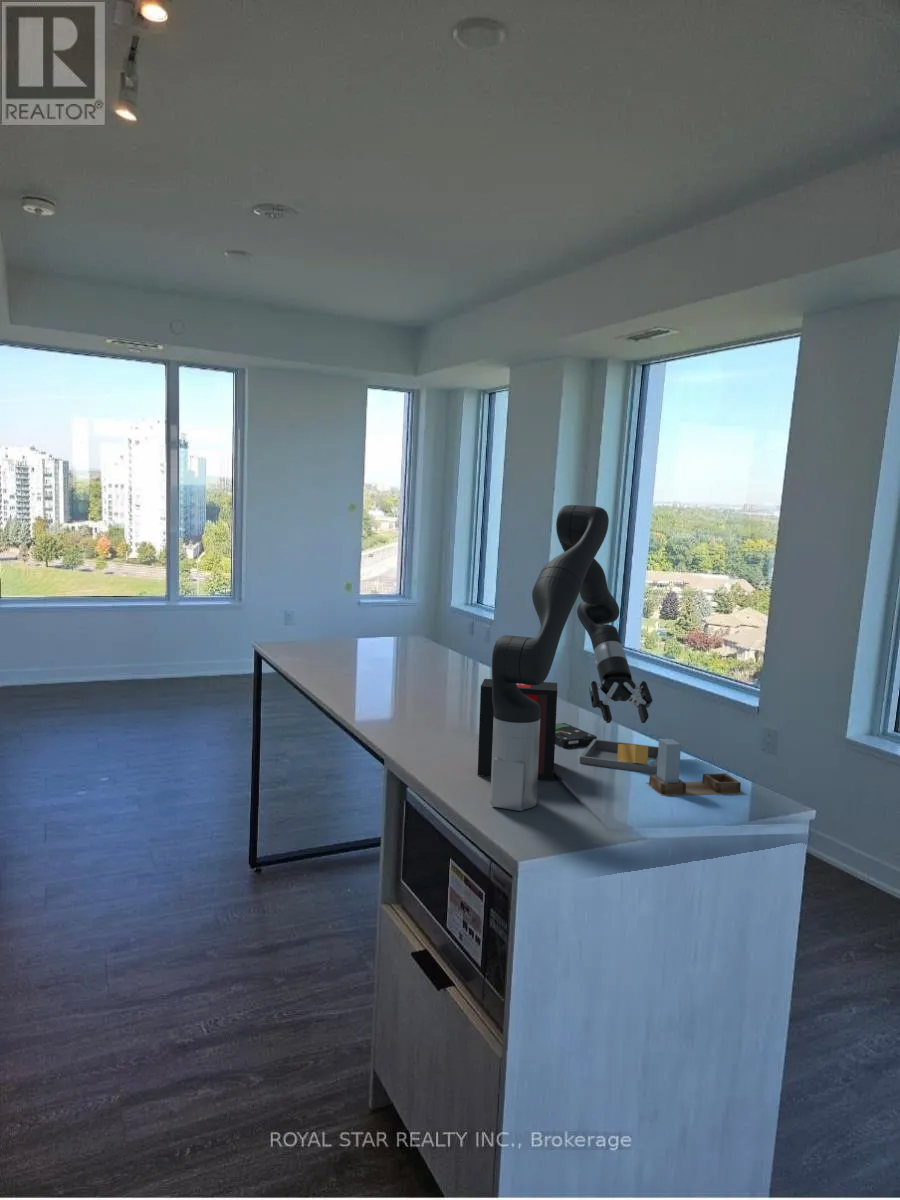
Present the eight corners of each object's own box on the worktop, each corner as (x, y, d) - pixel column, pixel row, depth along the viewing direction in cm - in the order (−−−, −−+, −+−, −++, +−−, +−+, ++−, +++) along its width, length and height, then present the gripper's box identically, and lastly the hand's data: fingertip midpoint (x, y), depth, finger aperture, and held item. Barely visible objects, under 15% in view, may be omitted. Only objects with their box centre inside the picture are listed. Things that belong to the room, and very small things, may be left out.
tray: (655, 780, 172) (656, 766, 171) (579, 769, 178) (579, 756, 177) (663, 759, 187) (664, 747, 187) (593, 750, 194) (594, 738, 193)
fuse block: (743, 800, 160) (744, 784, 160) (661, 802, 157) (662, 785, 157) (724, 787, 168) (725, 772, 168) (645, 789, 165) (646, 773, 165)
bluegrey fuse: (678, 791, 160) (680, 744, 159) (664, 792, 159) (667, 744, 158) (669, 785, 164) (672, 738, 163) (656, 785, 163) (658, 739, 162)
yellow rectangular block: (629, 762, 183) (647, 763, 173) (617, 761, 182) (634, 762, 172) (630, 744, 183) (648, 745, 174) (617, 743, 183) (635, 744, 173)
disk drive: (597, 746, 199) (564, 732, 213) (598, 736, 199) (565, 722, 212) (563, 750, 195) (532, 735, 208) (564, 739, 195) (532, 725, 208)
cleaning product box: (553, 769, 178) (557, 682, 176) (553, 781, 169) (557, 690, 167) (481, 763, 180) (484, 678, 178) (477, 775, 171) (480, 686, 169)
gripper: (588, 654, 187) (602, 713, 176) (644, 655, 189) (661, 712, 179) (580, 672, 192) (593, 730, 182) (634, 672, 194) (651, 729, 184)
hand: (627, 721), depth 180 cm, fingers open, 8 cm apart
